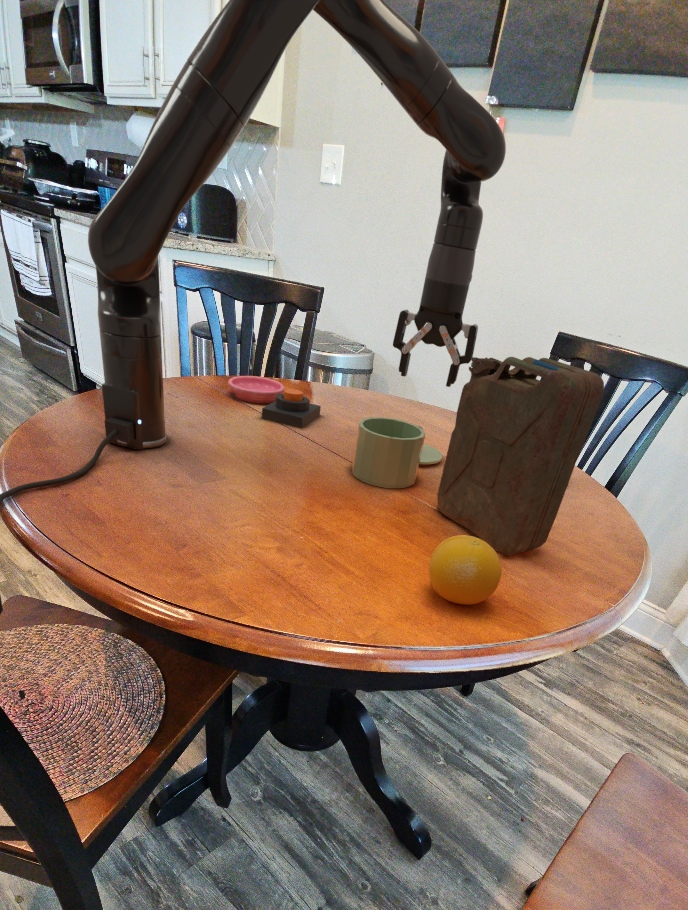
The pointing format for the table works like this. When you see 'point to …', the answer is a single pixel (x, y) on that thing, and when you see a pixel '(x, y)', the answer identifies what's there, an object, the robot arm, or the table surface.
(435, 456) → the lid
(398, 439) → the pot
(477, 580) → the fruit
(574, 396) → the canister
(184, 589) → the table surface
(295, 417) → the button block
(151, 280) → the robot arm
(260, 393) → the saucer
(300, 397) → the button
